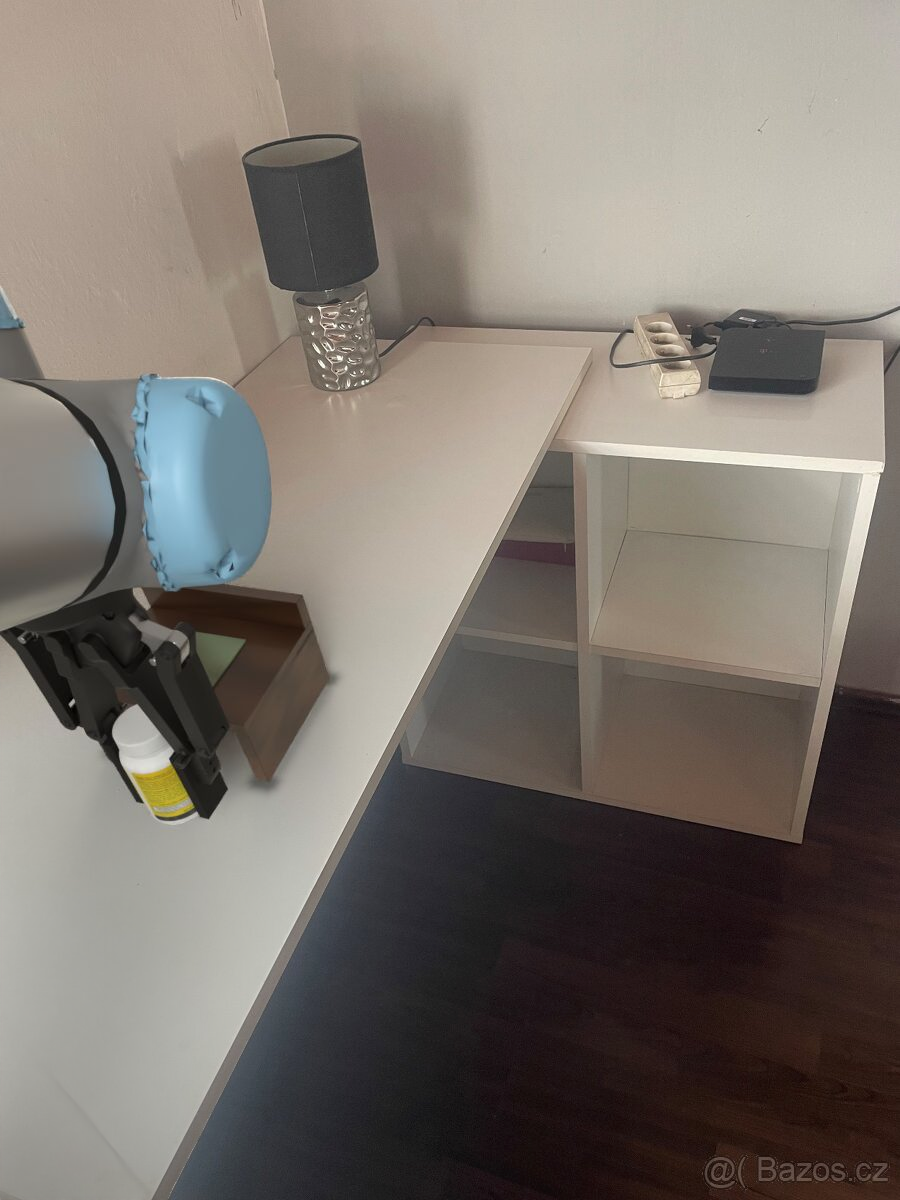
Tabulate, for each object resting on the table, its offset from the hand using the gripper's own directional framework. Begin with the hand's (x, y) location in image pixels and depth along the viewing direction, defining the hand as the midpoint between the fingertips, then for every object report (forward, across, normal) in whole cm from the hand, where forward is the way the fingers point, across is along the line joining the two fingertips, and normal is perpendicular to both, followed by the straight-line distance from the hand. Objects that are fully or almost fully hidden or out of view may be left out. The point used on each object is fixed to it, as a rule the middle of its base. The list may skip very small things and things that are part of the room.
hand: (182, 795), depth 63 cm
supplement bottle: (+1, 0, 0) cm, 1 cm away
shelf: (+6, +6, -12) cm, 15 cm away
